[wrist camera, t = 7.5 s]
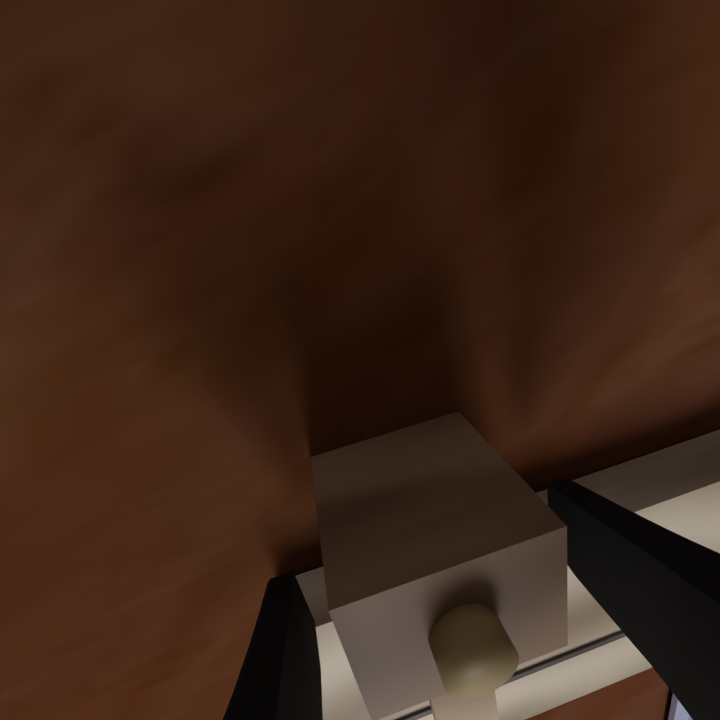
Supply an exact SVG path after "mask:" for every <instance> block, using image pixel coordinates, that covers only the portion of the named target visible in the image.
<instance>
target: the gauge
mask: <svg viewBox="0 0 720 720" xmlns="http://www.w3.org/2000/svg"><path fill="white" fill-rule="evenodd" d="M310 458H311V467H312V475H313V483H314V492H315V500H316V509H317V517H318V526H319V534H320V543H321V551H322V560H323V568H324V577H325V585H326V594H327V602H328V610H329V613H330V616H331V619H332V621H333V624H334V626H335V629H336V631H337V634H338V636H339V639H340V641H341V644H342V646H343V649H344V652H345V654H346V657H347V659H348V662H349V664H350V667H351V669H352V672H353V674H354V677H355V680H356V682H357V685H358V687H359V690H360V692H361V695H362V697H363V700H364V702H365V705H366V708H367V710H368V713H369V715H370V718H371V720H379V719H382V718H384V717H387V716H389V715H392V714H395V713H397V712H400V711H402V710H405V709H407V708H410V707H412V706H415V705H417V704H420V703H423V702H425V701H428V700H429V702H430V706H431V709H432V713H433V717H434V720H499V716H498V709H497V702H496V695H495V690H496V689H498V688H499V687H501V686H502V685H503V684H504V683H506V682H507V681H508V680H509V679H510V678H511V677H512V675H513V674H514V673H515V671H516V669H517V667H518V665H519V664H522V663H524V662H527V661H530V660H532V659H535V658H537V657H540V656H542V655H545V654H547V653H550V652H553V651H555V650H558V649H560V648H563V647H565V646H568V603H567V526H566V525H565V523H564V522H563V521H562V520H561V519H560V518H559V517H558V516H557V515H556V514H555V513H554V512H553V511H552V510H551V509H550V508H549V507H548V505H547V504H546V503H545V502H544V501H543V500H542V499H541V498H540V497H539V496H538V495H537V494H536V493H535V492H534V491H533V490H532V488H531V487H530V486H529V485H528V484H527V483H526V482H525V481H524V480H523V479H522V478H521V477H520V476H519V475H518V474H517V473H516V472H515V470H514V469H513V468H512V467H511V466H510V465H509V464H508V463H507V462H506V461H505V460H504V459H503V458H502V457H501V456H500V455H499V453H498V452H497V451H496V450H495V449H494V448H493V447H492V446H491V445H490V444H489V443H488V442H487V441H486V440H485V439H484V438H483V437H482V435H481V434H480V433H479V432H478V431H477V430H476V429H475V428H474V427H473V426H472V425H471V424H470V423H469V422H468V421H467V420H466V418H465V417H464V416H463V415H462V414H461V413H460V412H459V411H457V412H454V413H451V414H448V415H445V416H441V417H438V418H435V419H432V420H428V421H425V422H422V423H419V424H416V425H412V426H409V427H406V428H403V429H400V430H396V431H393V432H390V433H387V434H383V435H380V436H377V437H374V438H371V439H367V440H364V441H361V442H358V443H355V444H351V445H348V446H345V447H342V448H338V449H335V450H332V451H329V452H326V453H322V454H319V455H316V456H313V457H310Z"/></svg>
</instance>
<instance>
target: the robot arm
mask: <svg viewBox="0 0 720 720" xmlns="http://www.w3.org/2000/svg"><path fill="white" fill-rule="evenodd" d="M547 495H548V507H549V508H550V509H551V510H552V511H553V512H554V513H555V514H556V515H557V516H558V517H559V518H560V519H561V520H562V521H563V522H564V523H565V525H566V526H567V565H568V566H569V568H570V569H571V571H572V572H573V574H574V575H575V576H576V577H577V579H578V580H579V581H580V582H581V583H582V585H583V586H584V587H585V588H586V589H587V591H588V592H589V593H590V594H591V595H592V596H593V598H594V599H595V600H596V601H597V602H598V604H599V605H600V606H601V607H602V608H603V609H604V611H605V612H606V613H607V614H608V615H609V616H610V618H611V619H612V620H613V621H614V622H615V623H616V625H617V626H618V627H619V628H620V629H621V630H622V632H623V633H624V634H625V635H626V636H627V638H628V639H629V640H630V641H631V642H632V643H633V645H634V646H635V647H636V648H637V649H638V650H639V652H640V653H641V654H642V655H643V656H644V657H645V659H646V660H647V661H648V662H649V663H650V664H651V666H652V667H653V668H654V669H655V671H656V672H657V673H658V674H659V676H660V677H661V678H662V679H663V681H664V682H665V683H666V684H667V686H668V687H669V688H670V690H671V691H672V692H673V694H672V700H671V705H670V710H669V716H668V720H720V553H718V552H716V551H713V550H711V549H709V548H707V547H705V546H702V545H700V544H698V543H696V542H693V541H691V540H689V539H687V538H685V537H683V536H681V535H679V534H676V533H674V532H672V531H670V530H668V529H666V528H664V527H662V526H660V525H658V524H656V523H654V522H652V521H650V520H648V519H646V518H644V517H642V516H640V515H638V514H636V513H634V512H632V511H630V510H628V509H626V508H624V507H622V506H620V505H618V504H616V503H615V502H613V501H611V500H609V499H607V498H605V497H603V496H601V495H599V494H597V493H595V492H593V491H592V490H590V489H588V488H586V487H584V486H582V485H580V484H578V483H576V482H574V481H572V480H570V479H568V478H565V479H562V480H559V481H557V482H554V483H551V484H548V485H547ZM223 720H323V711H322V685H321V666H320V658H319V650H318V642H317V634H316V627H315V621H314V618H313V616H312V614H311V611H310V609H309V607H308V604H307V602H306V600H305V597H304V595H303V593H302V590H301V588H300V586H299V583H298V581H297V578H296V576H295V574H294V571H292V572H289V573H286V574H283V575H280V576H277V577H274V578H271V579H270V580H269V582H268V583H267V587H266V590H265V594H264V598H263V602H262V605H261V609H260V612H259V616H258V619H257V622H256V626H255V629H254V632H253V635H252V638H251V642H250V645H249V648H248V651H247V654H246V657H245V660H244V662H243V665H242V668H241V671H240V674H239V677H238V680H237V683H236V686H235V689H234V691H233V694H232V697H231V699H230V702H229V705H228V707H227V710H226V713H225V715H224V718H223Z"/></svg>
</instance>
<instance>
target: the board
mask: <svg viewBox="0 0 720 720" xmlns="http://www.w3.org/2000/svg"><path fill="white" fill-rule="evenodd" d="M572 481H574V482H576V483H578V484H580V485H582V486H584V487H586V488H588V489H590V490H592V491H593V492H595V493H597V494H599V495H601V496H603V497H605V498H607V499H609V500H611V501H613V502H615V503H616V504H618V505H620V506H622V507H624V508H626V509H628V510H630V511H632V512H634V513H636V514H638V515H640V516H642V517H644V518H646V519H648V520H650V521H652V522H654V523H656V524H658V525H660V526H662V527H664V528H666V529H668V530H670V531H672V532H674V533H676V534H679V535H681V536H683V537H685V538H687V539H689V540H691V541H693V542H696V543H698V544H700V545H702V546H705V547H707V548H709V549H711V550H713V551H716V552H718V553H720V430H717V431H714V432H711V433H708V434H705V435H702V436H699V437H697V438H694V439H691V440H688V441H685V442H682V443H679V444H676V445H673V446H670V447H668V448H665V449H662V450H659V451H656V452H653V453H650V454H647V455H644V456H641V457H639V458H636V459H633V460H630V461H627V462H624V463H621V464H618V465H615V466H612V467H610V468H607V469H604V470H601V471H598V472H595V473H592V474H589V475H586V476H583V477H581V478H578V479H575V480H572ZM536 494H537V495H538V496H539V497H540V498H541V499H542V500H543V501H544V502H545V503H546V504H547V505H548V495H547V489H546V490H543V491H540V492H537V493H536ZM296 578H297V581H298V583H299V586H300V588H301V590H302V593H303V595H304V597H305V600H306V602H307V604H308V607H309V609H310V611H311V614H312V616H313V618H314V621H315V627H316V634H317V642H318V650H319V658H320V666H321V685H322V711H323V720H371V718H370V715H369V713H368V710H367V708H366V705H365V702H364V700H363V697H362V695H361V692H360V690H359V687H358V685H357V682H356V680H355V677H354V674H353V672H352V669H351V667H350V664H349V662H348V659H347V657H346V654H345V652H344V649H343V646H342V644H341V641H340V639H339V636H338V634H337V631H336V629H335V626H334V624H333V621H332V619H331V616H330V613H329V610H328V602H327V594H326V585H325V577H324V568H323V566H322V567H319V568H317V569H314V570H311V571H308V572H305V573H302V574H299V575H296ZM567 603H568V646H565V647H563V648H560V649H558V650H555V651H553V652H550V653H547V654H545V655H542V656H540V657H537V658H535V659H532V660H530V661H527V662H524V663H522V664H519V665H518V667H517V669H516V671H515V673H514V674H513V675H512V677H511V678H510V679H509V680H508V681H507V682H506V683H504V684H503V685H502V686H501V687H499V688H498V689H496V690H495V695H496V702H497V709H498V716H499V720H525V719H528V718H530V717H532V716H535V715H537V714H540V713H542V712H545V711H547V710H549V709H552V708H554V707H557V706H559V705H562V704H564V703H567V702H569V701H571V700H574V699H576V698H579V697H581V696H584V695H586V694H588V693H591V692H593V691H596V690H598V689H601V688H603V687H605V686H608V685H610V684H613V683H615V682H618V681H620V680H622V679H625V678H627V677H630V676H632V675H635V674H637V673H639V672H642V671H644V670H647V669H649V668H652V666H651V664H650V663H649V662H648V661H647V660H646V659H645V657H644V656H643V655H642V654H641V653H640V652H639V650H638V649H637V648H636V647H635V646H634V645H633V643H632V642H631V641H630V640H629V639H628V638H627V636H626V635H625V634H624V633H623V632H622V630H621V629H620V628H619V627H618V626H617V625H616V623H615V622H614V621H613V620H612V619H611V618H610V616H609V615H608V614H607V613H606V612H605V611H604V609H603V608H602V607H601V606H600V605H599V604H598V602H597V601H596V600H595V599H594V598H593V596H592V595H591V594H590V593H589V592H588V591H587V589H586V588H585V587H584V586H583V585H582V583H581V582H580V581H579V580H578V579H577V577H576V576H575V575H574V574H573V572H572V571H571V569H570V568H569V566H568V565H567ZM379 720H434V717H433V713H432V709H431V706H430V702H429V700H428V701H425V702H423V703H420V704H417V705H415V706H412V707H410V708H407V709H405V710H402V711H400V712H397V713H395V714H392V715H389V716H387V717H384V718H382V719H379Z"/></svg>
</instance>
